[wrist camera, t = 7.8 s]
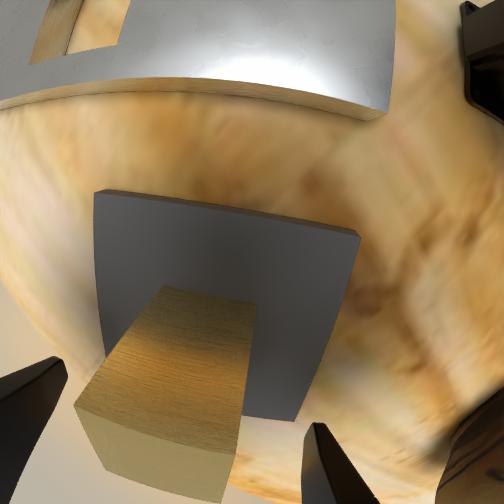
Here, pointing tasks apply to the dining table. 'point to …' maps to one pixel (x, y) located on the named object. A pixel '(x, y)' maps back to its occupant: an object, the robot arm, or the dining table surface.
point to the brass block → (173, 394)
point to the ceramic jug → (476, 458)
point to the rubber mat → (228, 280)
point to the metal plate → (209, 52)
